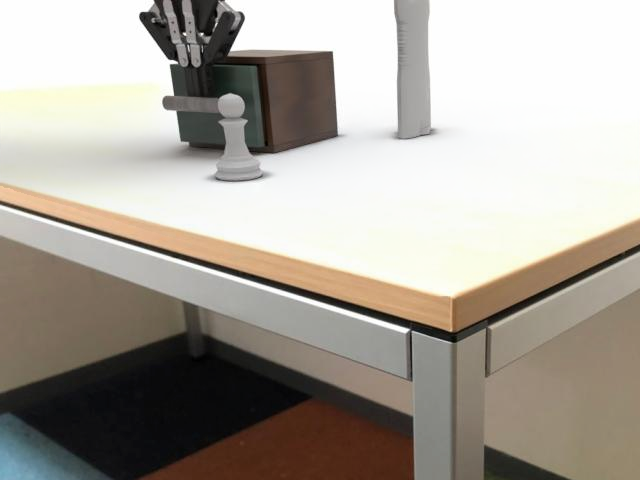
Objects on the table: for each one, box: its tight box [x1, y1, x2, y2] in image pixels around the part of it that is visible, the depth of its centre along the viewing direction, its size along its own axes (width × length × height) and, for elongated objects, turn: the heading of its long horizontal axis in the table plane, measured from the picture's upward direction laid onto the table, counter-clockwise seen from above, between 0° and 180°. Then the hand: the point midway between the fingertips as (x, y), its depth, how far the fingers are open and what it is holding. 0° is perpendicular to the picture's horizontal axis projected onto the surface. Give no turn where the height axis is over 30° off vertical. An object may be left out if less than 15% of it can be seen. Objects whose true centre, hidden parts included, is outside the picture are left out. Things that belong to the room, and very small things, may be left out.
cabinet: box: [177, 49, 339, 154], centre depth 94 cm, size 15×13×11 cm
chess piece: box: [214, 93, 264, 182], centre depth 74 cm, size 5×5×8 cm
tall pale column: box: [393, 0, 432, 140], centre depth 97 cm, size 11×4×22 cm, turn 162°
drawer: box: [161, 63, 268, 148], centre depth 90 cm, size 18×11×9 cm, turn 157°
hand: (202, 101), depth 84 cm, fingers closed
